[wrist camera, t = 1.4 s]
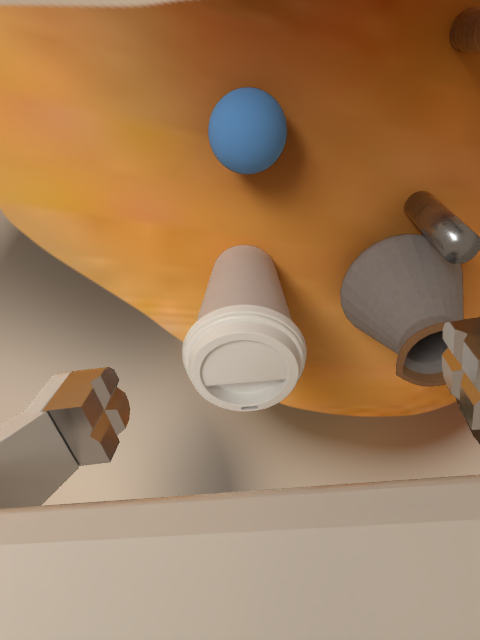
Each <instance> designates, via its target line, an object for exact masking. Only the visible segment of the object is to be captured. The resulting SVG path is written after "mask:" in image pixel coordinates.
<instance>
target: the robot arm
mask: <svg viewBox="0 0 480 640" xmlns="http://www.w3.org/2000/svg"><path fill="white" fill-rule="evenodd" d="M443 340H444V342H445V343H446V345H447V346H448V348H447V349H446V350H445V352H444V353H443V354H442V370H443V376H444V380H445V382H446V385H447V387H448V389H449V391H450V393H451V394H452V395H454V396H455V397H457V398H459V399H460V402H459V409H460V410H461V412H462V414H463V415H464V417H465V419H466V421H467V422H468V424H469V426H470V427H471V429H472V430H479V429H480V317H478V318H471V319H465V320H459V321H452V322H446V323H445V324H444V327H443ZM118 382H119V378H118V376H117V374H116V373H115V371H114V369H112V368H110V367H105V368H97V369H87V370H78V371H69V372H62V373H58V374H55V375H53V376H52V377H51V378H50V380H49V381H48V382H47V383H46V384H45V386H44V387H43V388H42V390H41V391H40V392H39V393H38V394H37V396H36V397H35V398H34V400H33V401H32V402H31V403H30V405H29V406H28V407H27V408H26V409H25V411H24V412H23V413H22V414H19V415H15V416H14V417H12V418H11V419H9V420H7V421H6V422H4V423H3V424H1V425H0V640H480V475H468V476H454V477H439V478H426V479H412V480H411V479H410V480H397V481H382V482H368V483H355V484H354V483H353V484H341V485H340V484H339V485H326V486H311V487H297V488H283V489H269V490H255V491H242V492H228V493H214V494H200V495H188V496H174V497H160V498H145V499H131V500H117V501H103V502H89V503H76V504H60V505H46V506H41V505H42V504H43V503H44V502H45V501H46V500H47V499H48V498H49V497H50V496H51V495H52V494H53V493H54V492H55V491H56V490H57V489H58V488H59V487H60V486H61V485H62V484H63V483H64V482H65V481H66V480H67V479H68V478H69V477H70V476H71V475H72V474H73V473H74V472H75V471H76V470H77V469H78V468H79V466H83V465H91V464H99V463H108V462H111V459H112V457H113V455H114V453H115V451H116V448H117V446H118V444H119V439H118V437H117V435H118V434H119V433H121V432H122V431H123V430H124V429H125V428H126V426H127V424H128V421H129V415H130V406H129V402H128V399H127V396H126V394H125V393H124V392H123V391H121V390H120V389H119V388H117V385H118Z"/></svg>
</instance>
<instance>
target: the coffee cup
mask: <svg viewBox="0 0 480 640" xmlns="http://www.w3.org/2000/svg"><path fill="white" fill-rule="evenodd" d="M182 356H183V362H184V366H185V369H186V372H187V374H188V376H189V378H190V379H191V381H192V382H193V385H194V387H195V388H196V390H197V391H198V392H199V393H200V395H201V396H203V398H205V399H206V400H207V401H209V402H211V403H212V404H214V405H216V406H219V407H221V408H225V409H229V410H234V411H255V410H261V409H264V408H268V407H270V406H273V405H275V404H277V403H279V402H280V401H282V400H283V399H284V398H286V397H287V396H288V395H289V394H290V393H291V391H292V390H293V389H294V387H295V385H296V383H297V381H298V380H299V378H300V376H301V374H302V372H303V369H304V366H305V362H306V356H307V348H306V342H305V339H304V337H303V335H302V333H301V331H300V330H299V328H298V327H297V326H296V325H295V324H294V323H293V322H292V319H291V316H290V313H289V309H288V306H287V303H286V300H285V297H284V294H283V290H282V287H281V284H280V281H279V278H278V274H277V271H276V268H275V265H274V262H273V260H272V259H271V257H270V256H269V255H268V254H267V253H266V252H265V251H263V250H262V249H260V248H257V247H255V246H250V245H238V246H234V247H231V248H229V249H227V250H226V251H224V252H223V253H222V254H221V255H220V256H219V257H218V258H217V260H216V262H215V264H214V267H213V270H212V273H211V277H210V280H209V283H208V286H207V290H206V293H205V296H204V299H203V302H202V306H201V309H200V312H199V315H198V318H197V321H196V323H195V324H194V325H193V326H192V327H191V328H190V330H189V331H188V333H187V335H186V337H185V339H184V342H183V348H182Z"/></svg>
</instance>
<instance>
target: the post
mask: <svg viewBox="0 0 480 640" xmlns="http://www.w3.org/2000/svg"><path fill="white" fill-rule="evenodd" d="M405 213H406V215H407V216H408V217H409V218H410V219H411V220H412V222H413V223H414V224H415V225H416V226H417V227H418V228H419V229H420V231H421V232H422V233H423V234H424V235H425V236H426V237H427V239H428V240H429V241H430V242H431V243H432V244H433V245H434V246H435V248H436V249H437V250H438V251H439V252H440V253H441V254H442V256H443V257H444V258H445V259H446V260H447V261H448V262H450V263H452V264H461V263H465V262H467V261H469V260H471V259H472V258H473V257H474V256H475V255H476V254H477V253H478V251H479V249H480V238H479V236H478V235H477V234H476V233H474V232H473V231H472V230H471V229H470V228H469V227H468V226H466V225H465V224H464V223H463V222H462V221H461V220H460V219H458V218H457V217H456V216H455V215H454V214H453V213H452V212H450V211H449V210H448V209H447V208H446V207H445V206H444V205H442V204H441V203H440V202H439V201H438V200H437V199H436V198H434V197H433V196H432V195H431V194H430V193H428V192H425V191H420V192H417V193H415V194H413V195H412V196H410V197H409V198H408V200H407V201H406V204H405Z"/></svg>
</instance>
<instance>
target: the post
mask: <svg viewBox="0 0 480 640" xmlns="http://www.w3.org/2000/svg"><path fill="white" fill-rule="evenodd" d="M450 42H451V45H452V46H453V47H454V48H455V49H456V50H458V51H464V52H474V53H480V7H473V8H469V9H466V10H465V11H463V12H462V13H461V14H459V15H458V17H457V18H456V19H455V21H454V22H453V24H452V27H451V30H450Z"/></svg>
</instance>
